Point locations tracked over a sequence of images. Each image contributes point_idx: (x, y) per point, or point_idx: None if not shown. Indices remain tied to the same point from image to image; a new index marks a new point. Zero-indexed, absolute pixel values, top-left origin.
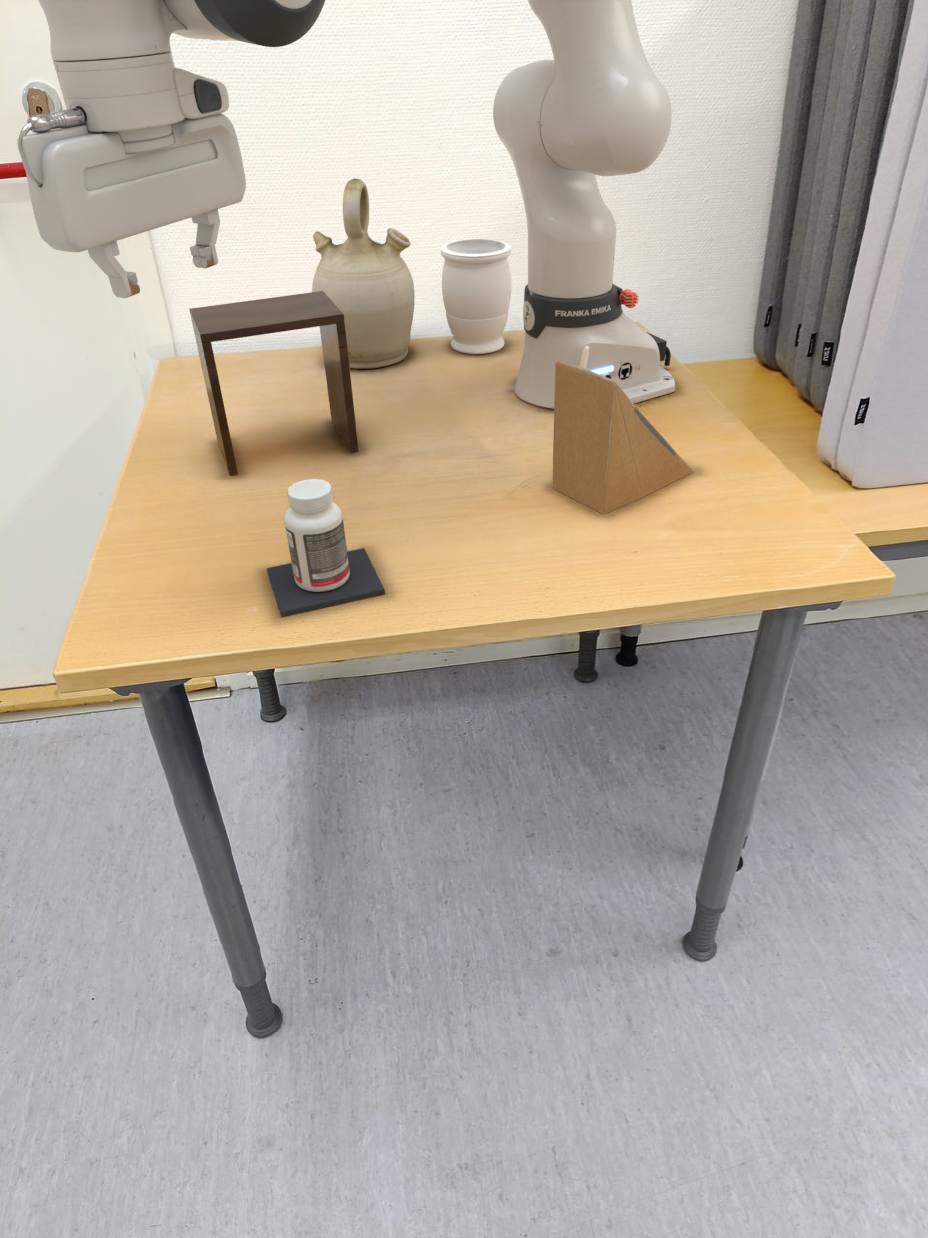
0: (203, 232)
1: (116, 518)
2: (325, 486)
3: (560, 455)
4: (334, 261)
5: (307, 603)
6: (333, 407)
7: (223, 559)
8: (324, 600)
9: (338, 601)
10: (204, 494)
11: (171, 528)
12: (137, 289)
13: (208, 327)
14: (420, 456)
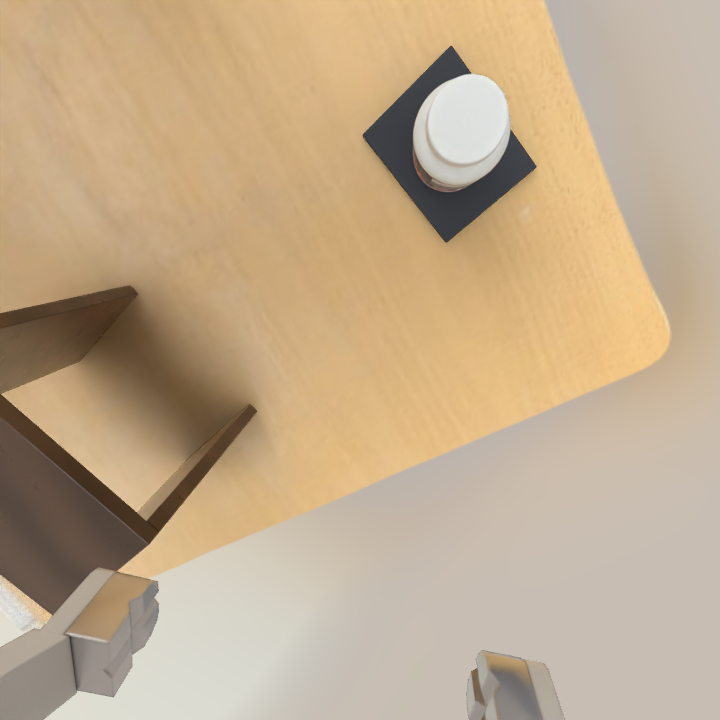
0: (9, 715)
1: (388, 476)
2: (453, 90)
3: None
4: None
5: (510, 140)
6: (67, 355)
7: (432, 313)
8: None
9: None
10: (306, 415)
11: (388, 409)
12: (500, 662)
13: (114, 547)
14: (98, 190)
